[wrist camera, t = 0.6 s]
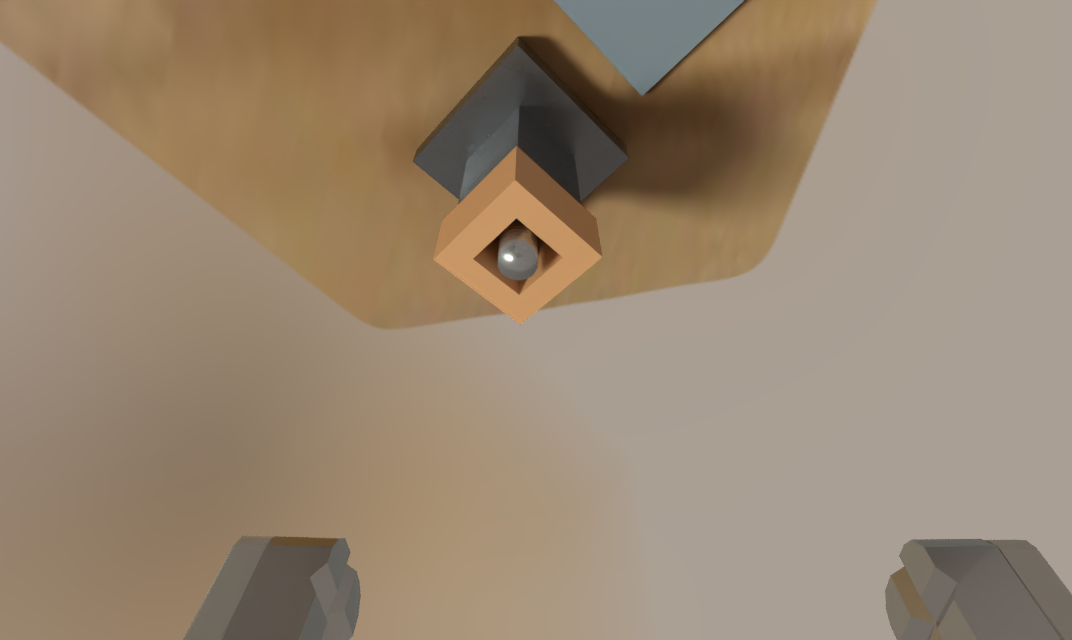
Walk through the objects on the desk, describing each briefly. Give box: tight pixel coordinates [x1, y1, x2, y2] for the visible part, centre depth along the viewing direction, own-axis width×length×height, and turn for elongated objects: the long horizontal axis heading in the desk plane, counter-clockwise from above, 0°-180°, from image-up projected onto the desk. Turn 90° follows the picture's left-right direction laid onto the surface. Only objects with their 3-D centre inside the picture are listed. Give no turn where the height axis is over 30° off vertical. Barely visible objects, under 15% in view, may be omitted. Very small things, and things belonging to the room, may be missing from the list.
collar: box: [433, 146, 602, 324], centre depth 33 cm, size 6×6×4 cm
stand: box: [413, 37, 629, 280], centre depth 37 cm, size 10×10×14 cm
